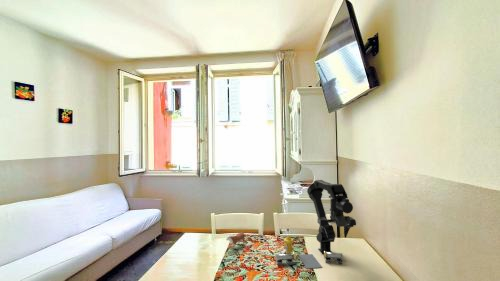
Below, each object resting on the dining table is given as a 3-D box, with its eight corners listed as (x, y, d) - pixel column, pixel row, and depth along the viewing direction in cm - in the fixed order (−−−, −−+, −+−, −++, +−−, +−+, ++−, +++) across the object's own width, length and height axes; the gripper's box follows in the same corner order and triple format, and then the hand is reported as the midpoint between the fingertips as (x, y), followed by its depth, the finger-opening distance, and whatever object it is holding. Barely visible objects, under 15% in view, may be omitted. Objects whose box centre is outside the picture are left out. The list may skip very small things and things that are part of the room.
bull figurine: (225, 248, 141) (225, 234, 141) (242, 242, 150) (242, 229, 150) (229, 251, 138) (229, 236, 138) (246, 244, 147) (246, 231, 147)
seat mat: (298, 255, 131) (298, 254, 131) (312, 254, 132) (312, 254, 132) (306, 268, 117) (306, 268, 117) (322, 267, 118) (322, 267, 118)
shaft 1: (277, 265, 121) (277, 255, 121) (275, 261, 125) (275, 251, 125) (296, 264, 122) (296, 254, 122) (293, 260, 126) (293, 250, 126)
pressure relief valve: (295, 253, 134) (295, 235, 134) (283, 261, 125) (283, 242, 125) (287, 250, 138) (286, 233, 138) (275, 258, 129) (274, 239, 129)
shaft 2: (324, 262, 124) (324, 253, 124) (323, 258, 128) (323, 249, 128) (342, 264, 121) (342, 254, 121) (341, 260, 126) (341, 251, 126)
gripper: (323, 212, 116) (324, 244, 116) (361, 212, 117) (361, 243, 117) (316, 206, 128) (317, 235, 127) (351, 206, 128) (351, 235, 128)
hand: (336, 237), depth 125 cm, fingers open, 9 cm apart
